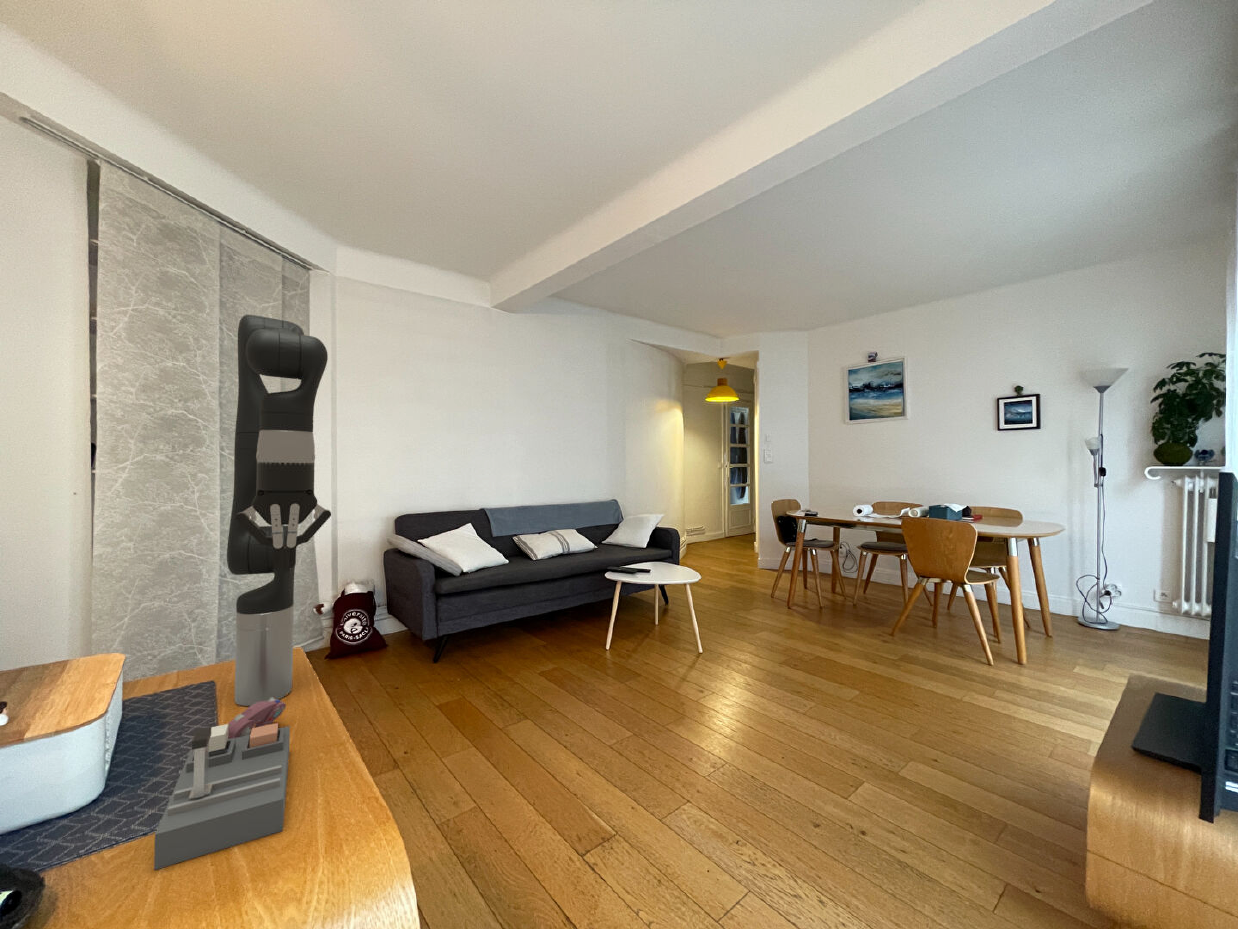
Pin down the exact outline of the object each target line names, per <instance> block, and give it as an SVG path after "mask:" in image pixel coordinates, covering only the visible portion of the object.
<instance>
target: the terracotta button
mask: <svg viewBox="0 0 1238 929" xmlns="http://www.w3.org/2000/svg"><path fill="white" fill-rule="evenodd" d="M278 728H279V722H277V723H271V724H270V725H265V726H261V727H256V728H254V727H253V728H252V731H251V735H250V748H252V747H256V746H261V745H265V744H270V743H274V742H277V739H278Z"/></svg>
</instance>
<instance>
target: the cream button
mask: <svg viewBox="0 0 1238 929" xmlns="http://www.w3.org/2000/svg"><path fill="white" fill-rule="evenodd" d="M210 727H211V737H210V739H209V752H211V751H216V750H220V749H225V746H226V743H227V740H228V723H226V724H225V723H224V724H221V725H217V726H210Z"/></svg>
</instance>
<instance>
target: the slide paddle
mask: <svg viewBox="0 0 1238 929" xmlns="http://www.w3.org/2000/svg"><path fill="white" fill-rule="evenodd" d="M211 727H212V726H208V727H205V728H204V727H203V728H198V729H196V732H195V733H194V736H193V739H192V741H191V748H192V750H194V788H192V790H191V793H190V796H189V801H192V800H196V799H200V798H204V797H208V796H211V794H212V791H213V783H212V784H208V772H209V739H210V737H211Z"/></svg>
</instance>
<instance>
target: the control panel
mask: <svg viewBox="0 0 1238 929" xmlns="http://www.w3.org/2000/svg"><path fill="white" fill-rule="evenodd" d="M290 729H291V726H290V725H288V726H285V727H280V728H279V727H278V739H277V742H274V743H270V744H265V745H261V746H256V747H252V748H250V735H251V734H250V735H246V736H242V737H238V738H232V739H228V740H227V743H226V746H225V749H220V750H216V751H211V752H209V772H208V784H212V783H213V791H212V794H211V796H208V797H204V798H200V799H196V800H192V801H189V796H190V793H191V790H192V788H194V750H192V747H191V748H190V751H189V754H188V756H187V758H186V761H185V763H184V765H183V767H182V769H181V772H180V774H179V777H178V779H177V781H176V784H175V786H174V789H173V792H172V793H171V796H170V798H169V800H168V803H167V805H166V807H165V810H164V812H163V814H162V817H161V819H160V822H159V824H158V826H157V828H156V830H155V833H154V860H153V863H154V866H153V869H154V871H155V870H159V869H162V868H166V867H169V866H173V865H177V864H178V863H182V862H185V861H188V860H192V859H195V858H200V857H201V856H202V857H203V856H205V855H209V854H211V853H214V852H218V851H221V850H225V849H228V848H230V847H231V848H232V847H235V846H238V845H241V844H244V843H247V842H250V841H251V842H252V841H254V840H258V839H260V838H263V837H264V838H265V837H267V836H270V835H271V836H272V835H274V834H277V833H280V832H283V831H284V821H285V820H284V818H285V810H286V809H285V808H286V806H285V805H286V797H287V796H286V794H287V784H288V782H287V781H288V772H289V761H288V760H290V734H291V733H290V732H291V730H290Z"/></svg>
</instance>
